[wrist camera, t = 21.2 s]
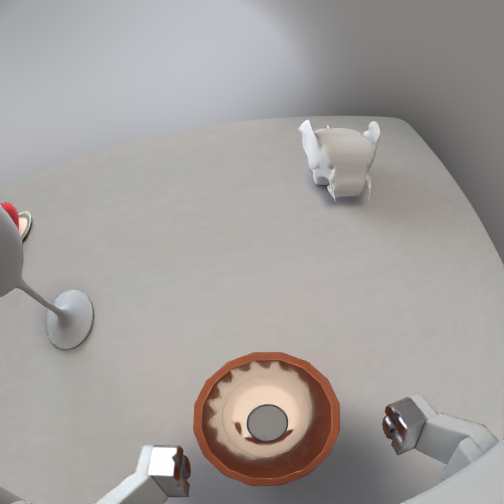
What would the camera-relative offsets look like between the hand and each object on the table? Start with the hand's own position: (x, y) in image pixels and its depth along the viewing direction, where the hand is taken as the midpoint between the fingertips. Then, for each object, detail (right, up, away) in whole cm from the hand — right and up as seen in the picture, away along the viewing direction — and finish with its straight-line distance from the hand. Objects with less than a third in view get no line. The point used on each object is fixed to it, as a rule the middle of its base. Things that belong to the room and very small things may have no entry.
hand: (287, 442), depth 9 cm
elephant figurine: (+10, +16, +27) cm, 33 cm away
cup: (0, -7, +12) cm, 14 cm away
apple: (-40, +10, +25) cm, 48 cm away
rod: (0, -6, +12) cm, 13 cm away
